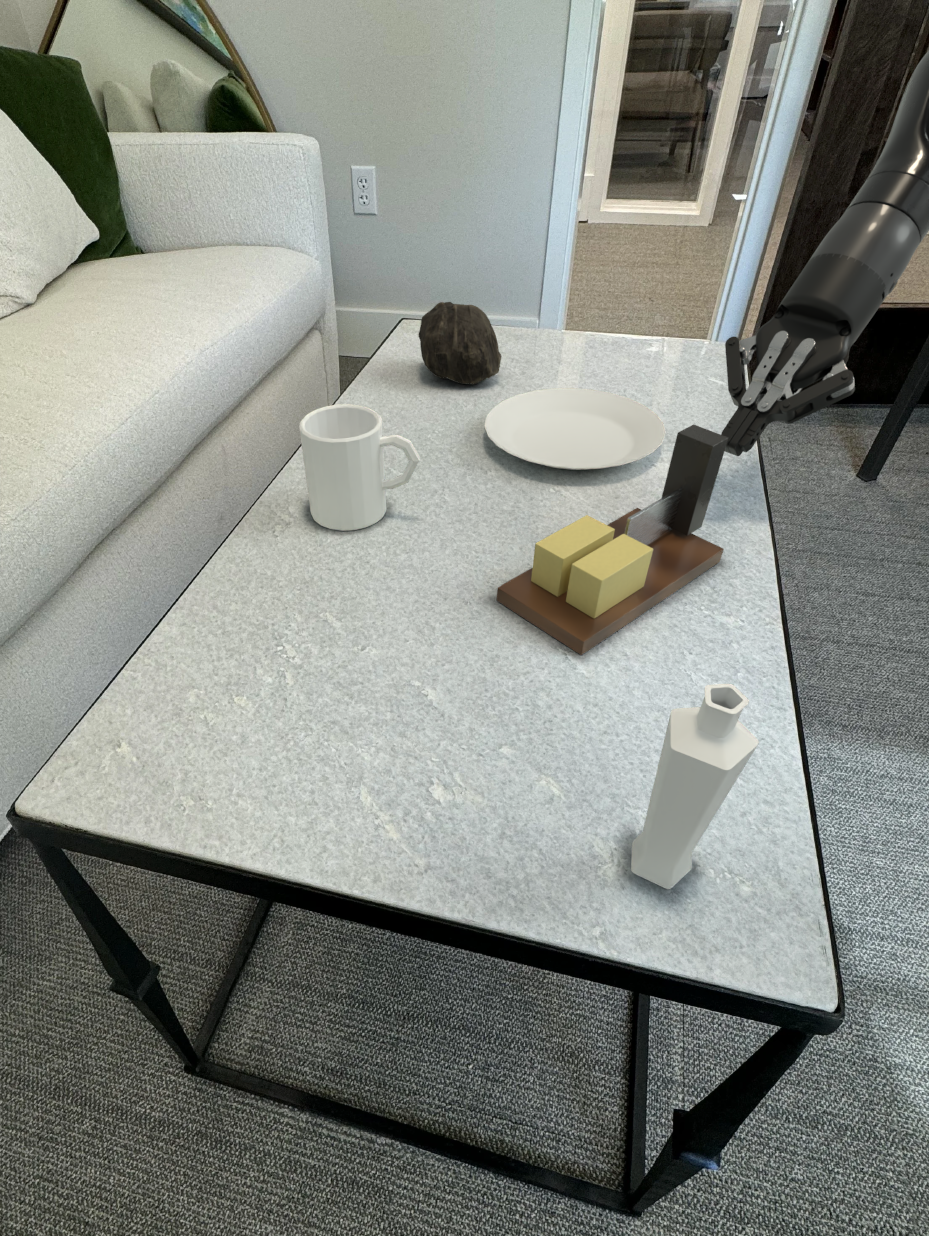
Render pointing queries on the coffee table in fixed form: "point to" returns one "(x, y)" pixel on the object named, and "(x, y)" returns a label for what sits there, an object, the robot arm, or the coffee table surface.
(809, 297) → the robot arm
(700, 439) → the knife
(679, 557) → the slicer board
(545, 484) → the coffee table surface
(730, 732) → the white faceted vase
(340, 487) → the mug
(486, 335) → the rock
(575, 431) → the plate
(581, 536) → the butter
